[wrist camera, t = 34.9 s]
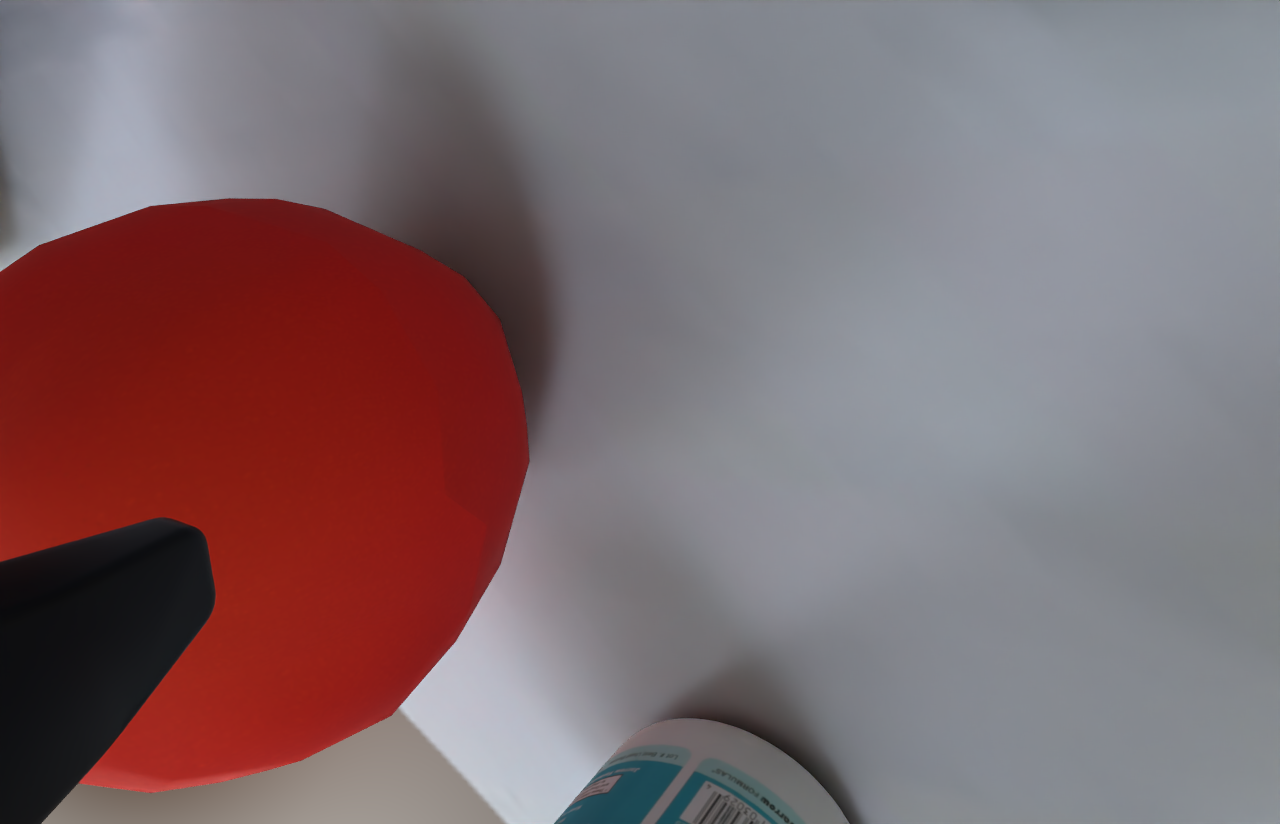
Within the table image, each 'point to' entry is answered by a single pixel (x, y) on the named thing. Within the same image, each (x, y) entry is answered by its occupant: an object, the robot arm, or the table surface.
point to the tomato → (265, 460)
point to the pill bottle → (701, 781)
